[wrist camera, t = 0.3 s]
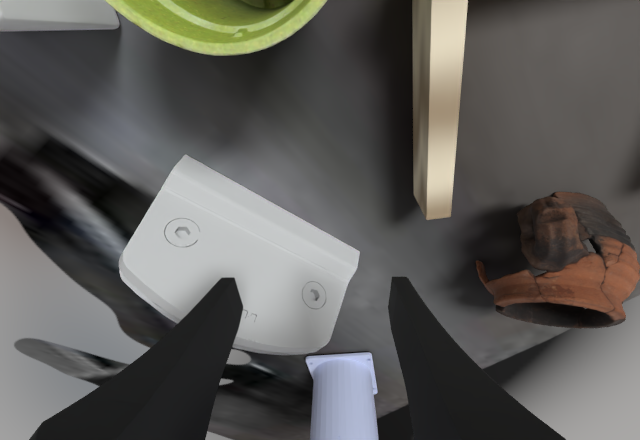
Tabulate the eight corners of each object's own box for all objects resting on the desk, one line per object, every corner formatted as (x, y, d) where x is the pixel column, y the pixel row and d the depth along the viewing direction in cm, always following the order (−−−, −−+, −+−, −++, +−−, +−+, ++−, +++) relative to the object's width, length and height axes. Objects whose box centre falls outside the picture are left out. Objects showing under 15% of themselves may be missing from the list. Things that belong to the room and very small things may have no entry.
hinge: (363, 253, 24) (344, 379, 18) (334, 270, 28) (310, 380, 22) (179, 151, 20) (69, 271, 14) (172, 186, 23) (83, 295, 17)
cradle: (691, 154, 18) (796, 189, 14) (413, 194, 21) (433, 233, 17) (888, -194, 11) (1244, -344, 6) (411, -64, 13) (448, -112, 9)
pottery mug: (619, 234, 23) (649, 340, 19) (488, 244, 29) (492, 324, 25) (624, 137, 15) (673, 276, 12) (448, 178, 22) (445, 277, 18)
